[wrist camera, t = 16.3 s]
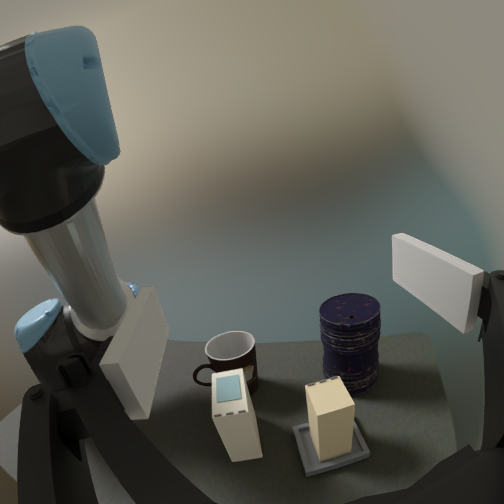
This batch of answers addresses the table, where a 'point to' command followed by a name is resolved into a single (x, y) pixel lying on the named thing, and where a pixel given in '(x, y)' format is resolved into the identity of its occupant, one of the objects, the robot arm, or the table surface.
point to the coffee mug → (232, 357)
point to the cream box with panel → (235, 415)
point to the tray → (316, 467)
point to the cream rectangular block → (330, 417)
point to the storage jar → (351, 340)
